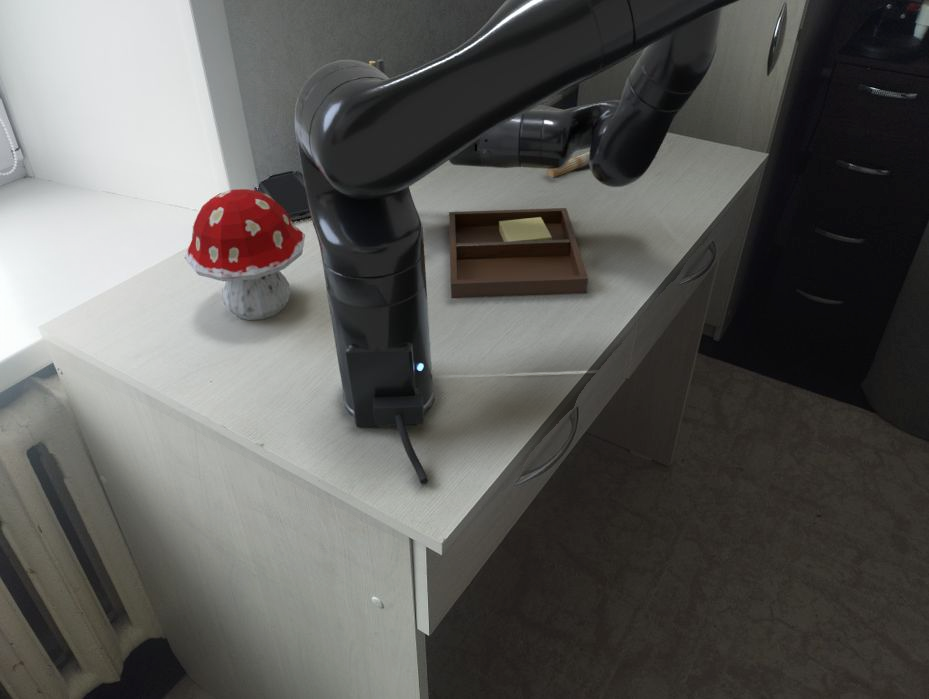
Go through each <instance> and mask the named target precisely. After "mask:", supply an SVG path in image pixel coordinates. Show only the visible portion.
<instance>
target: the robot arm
mask: <svg viewBox="0 0 929 699" xmlns="http://www.w3.org/2000/svg"><path fill="white" fill-rule="evenodd" d="M737 2H740V0H505V1H504V3H503V4H502V5H501V6H500V7H499V8H498V9H497V10H496V12H494V14H493V15H492V16H491V17H490V18H489V19H488V21H487V22H485V24H484V25H483V26H482V27H481V28H480V29H479V30H478V31H477V32H476V33H475V34H474V35H472V36H471V37H470V38H469V39H468V40H466V41H465V42H464V43H462V44H461V45H459V46H458V47H456V48H454V49H453V50H450V51H449V52H447V53H445V54H443V55H441V56H439V57H437V58H435V59H433V60H431V61H429V62H426V63H425V64H423V65H421V66H419V67H416V68H413V69H411V70H408V71H407V72H404V73H402V74H398V75H396V76H393V77H391V78H390V76H387V74H386V75H385V74H384V73H383V72H381V71H380V70H379V69H378V67H376V68H375V67H374V66H372V65H370V64H369V63H367V62H364V61H360V60H356V59H341V60H340V59H339V60H334V61H333V62H332V61H331V62H329V63H327V64H324V65H322V66H320V67H319V68H318V69H316V70H315V71H314V72H313V73H312V74H311V75H310V76H309V77H308V78H307V80H306V81H305V82H304V84H303V85H302V87H301V89H300V91H299V93H298V95H297V99H296V103H295V108H294V131H295V132H294V133H295V139H296V146H297V151H298V156H299V161H300V167H301V168H300V169H301V173H302V174H303V179H304V184H305V189H306V195H307V200H308V206H309V210H310V215H311V217H310V218H311V222H312V225H313V228H314V231H315V234H316V238H317V241H318V245H319V249H320V256H321V262H322V268H323V273H324V280H325V285H326V286H325V288H326V293H327V301H328V308H329V312H330V318H331V325H332V332H333V338H334V344H335V350H336V356H337V362H338V368H339V375H340V381H341V387H342V399H343V406H344V408H345V410H346V412H347V413H348V414H349V415H350V417H352V418H353V419H354V423H355V427H356V428H378V427H380V428H381V427H384V428H385V427H386V428H388V427H397V429H398V433H399V436H400V439H401V443H402V445H403V449H404V450H405V452H406V455H407V457H408V459H409V461H410V463H411V465H412V467H413V469H414V470H415V473H416V475H417V477H418V480H419V483H420V484H421V485H426V484H427V483H428V482H429V479H428V477H427V474H426V472H425V469H424V466H423V465H422V463H421V461H420V459H419V458H418V455H417V454H416V452H415V449H414V448H413V445H412V444H413V443H412V442H411V439H410V437H409V433H408V430H407V426H417V425H423V424H424V422H425V421H424V416H425V413H427V411H429V409H430V407H432V404H433V402H434V400H435V384H434V380H433V379H434V378H433V364H432V351H431V335H430V321H429V307H428V306H429V305H428V304H429V303H428V292H427V291H428V288H427V273H426V270H427V269H426V256H425V242H424V229H423V223H422V220H421V217H420V215H419V212H418V209H417V207H416V204H415V201H414V199H413V196H412V192H411V190H410V186H413V185H414V184H416V183H417V182H419V181H420V180H422V179H423V178H425V177H426V176H427V175H429V174H430V173H432V172H434V171H435V170H437V169H438V168H439V167H441V166H442V165H444V164H445V163H446V162H448V161H449V163H450V164H451V165H453V166H463V167H479V168H492V169H493V168H495V169H512V168H526V169H527V168H528V169H543V170H547V169H560V168H562V167H564V166H565V165H566V164H567V162H568V161H569V160H570V159H571V157H572V156H573V154H575V153H576V152H579V151H582V150H586V149H589V151H590V153H589V169H590V172H591V174H592V175H593V177H594V178H595V179H596V180H597V181H598V182H599V183H600V184H602V185H603V186H606V187H610V188H623V187H627V186H629V185H632V184H633V183H635V182H637V181H638V180H639V179H640V178H641V177H643V175H645V174H646V172H647V171H648V169H649V168H650V167H651V165H652V164H653V161H654V160H655V159H656V156H657V154H658V152H659V150H660V149H661V147H662V144H663V142H664V140H665V138H666V137H667V134H668V131H669V130H670V127H671V126H672V123H673V121H674V120H675V118H676V117H677V115H678V114H679V113H680V111H681V110H682V109H683V107H684V106H685V105H686V103H687V102H688V101H689V99H691V97H692V95H693V94H694V92H695V91H696V90H697V88H698V87H699V86H700V84H701V83H702V82H703V80H704V78H705V77H706V75H707V73H708V72H709V70H710V67H711V65H712V64H713V61H714V59H715V58H714V57H715V54H716V51H717V47H718V44H719V43H718V42H719V39H720V32H721V25H722V20H723V14H724V12H723V11H724V8H726V7H728V6H730V5H732V4H734V3H737ZM642 50H643V51H642ZM640 51H642V53H641V54H640V56H639V58H638V60H636V62H635V64H634V66H633V68H632V69H631V71H630V73H629V74H628V76H627V78H626V80H625V82H624V84H623V87H622V90H621V93H620V94H621V95H620V99H619V100H618V99H617V100H615V99H614V100H606V101H600V102H593V103H590V104H585V105H579V106H574V107H570V108H566V109H561V110H548V109H535V108H537V107H539V106H540V105H542V104H544V103H545V102H547V101H549V100H551V99H552V98H555V97H556V96H559V95H560V94H562V93H563V92H565V91H567V90H569V89H571V88H573V87H575V86H577V85H579V84H582V83H584V82H586V81H588V80H591V79H592V78H594V77H596V76H598V75H599V74H601V73H604V72H605V71H607V70H609V69H611V68H613V67H615V66H616V65H618V64H620V63H622V62H624V61H625V60H627V59H629V58H631V57H632V56H634V55H635V54H637V53H639V52H640Z"/></svg>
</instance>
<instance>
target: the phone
mask: <svg viewBox="0 0 929 699" xmlns="http://www.w3.org/2000/svg"><path fill="white" fill-rule="evenodd" d="M271 175H272V176H270V175H269V176H270V177H269V178H268V179H266V180H264V181H262V182H261V183H260V184H259V188H258V190H257V188H256V187H255V188H254V187H253V190H254V191H258V192H261V193H264V194H266V195H268V196H269V197H270V198H272V199H273V200H274V201H275V202H277V203H278V204H279V205H280V206H281V207H282V208H284V209H285V211H286V212H287V214H288V216H289V218H290V220H291V222H294V221H298V220H302V219H306V218H311V215H310V210H309V206H308V200H307V195H306V189H305V184H304V179H303V173H302V171H301V170H289V171H285V172H281V173H280V172H279V173H275V174H271Z"/></svg>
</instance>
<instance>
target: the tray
mask: <svg viewBox="0 0 929 699" xmlns="http://www.w3.org/2000/svg"><path fill="white" fill-rule="evenodd" d="M537 217H541V218H542V220H543V222H544V224H545V226H546V227H547V229H548V231H549V233H550V235H551V236H552V240H567V239H569V240H570V251H569V255H564V256H536V257H508V258H479V259H457V248H456V244H457V243H482V242H504V241H503V238H502V236H501V234H500V232H499V221H507V220H517V219H527V218H537ZM448 221H449V222H448V224H449V254H450V255H449V261H450V263H449V264H450V267H449V268H450V293H451V296H450V297H451V299H454V298H456V299H457V298H458V299H459V298H481V297H482V298H483V297H484V298H485V297H487V298H489V297H510V296H511V297H512V296H537V295H539V296H541V295H543V296H544V295H568V294H569V295H570V294H571V295H572V294H587V290H588V276H587V272H586V268H585V266H584V261H583V259H582V256H581V252H580V248H579V245H578V241H577V239H576V235H575V232H574V228H573V225H572V222H571V219H570V215H569V212H568V209H567V207H555V208H551V207H550V208H526V209H524V208H523V209H503V210H502V209H497V210H496V209H495V210H494V209H493V210H469V211H468V210H467V211H464V210H463V211H449V212H448Z"/></svg>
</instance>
